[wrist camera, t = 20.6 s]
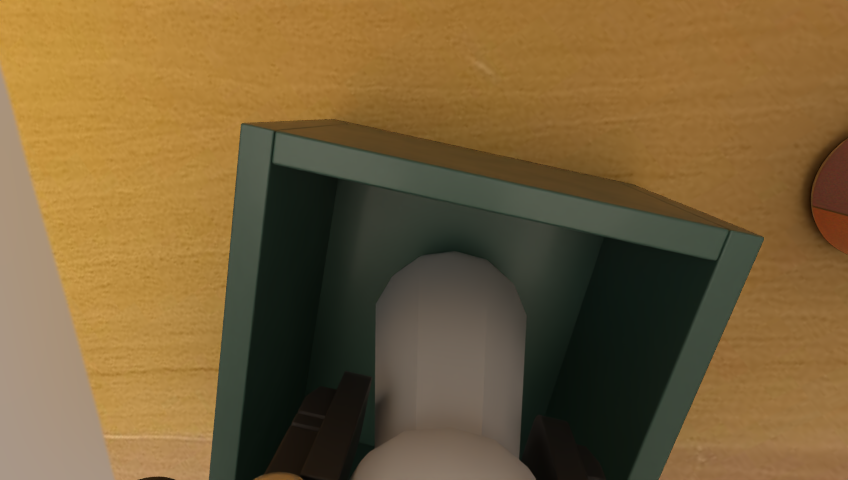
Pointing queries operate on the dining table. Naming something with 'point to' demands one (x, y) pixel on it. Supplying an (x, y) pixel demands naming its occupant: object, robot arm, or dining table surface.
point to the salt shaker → (448, 374)
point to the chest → (477, 236)
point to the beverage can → (832, 198)
